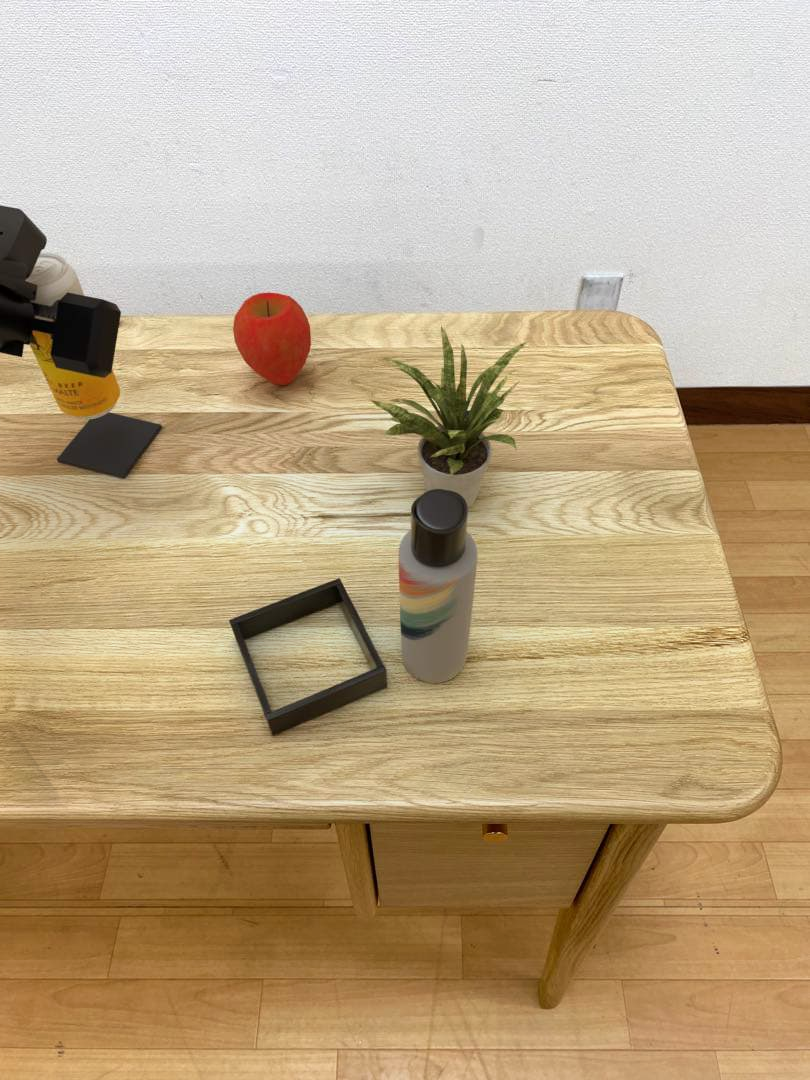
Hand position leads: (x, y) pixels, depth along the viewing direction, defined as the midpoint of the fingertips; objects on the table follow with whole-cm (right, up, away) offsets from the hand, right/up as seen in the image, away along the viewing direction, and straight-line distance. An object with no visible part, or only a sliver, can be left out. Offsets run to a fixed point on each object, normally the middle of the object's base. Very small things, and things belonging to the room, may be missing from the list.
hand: (75, 337), depth 73 cm
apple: (+17, -1, +16) cm, 23 cm away
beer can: (0, -6, +5) cm, 7 cm away
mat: (0, -9, +10) cm, 13 cm away
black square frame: (+23, -30, -7) cm, 38 cm away
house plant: (+37, -14, +6) cm, 40 cm away
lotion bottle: (+34, -29, -6) cm, 45 cm away
